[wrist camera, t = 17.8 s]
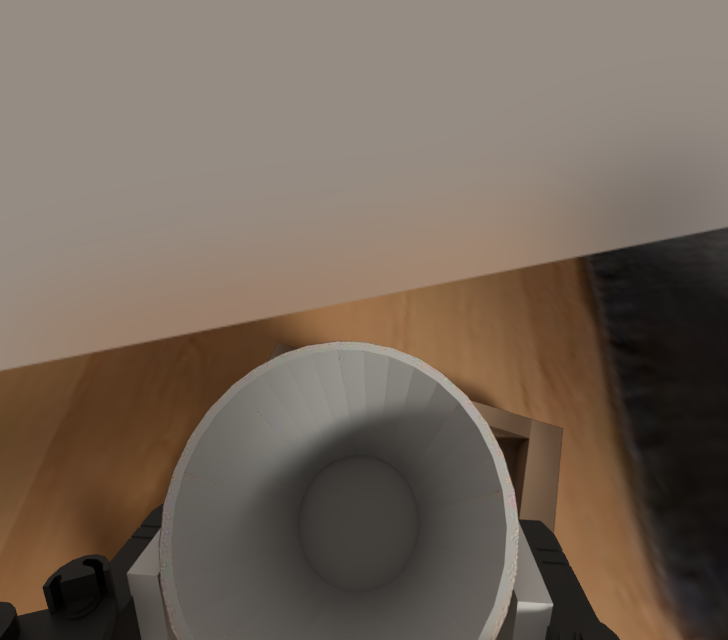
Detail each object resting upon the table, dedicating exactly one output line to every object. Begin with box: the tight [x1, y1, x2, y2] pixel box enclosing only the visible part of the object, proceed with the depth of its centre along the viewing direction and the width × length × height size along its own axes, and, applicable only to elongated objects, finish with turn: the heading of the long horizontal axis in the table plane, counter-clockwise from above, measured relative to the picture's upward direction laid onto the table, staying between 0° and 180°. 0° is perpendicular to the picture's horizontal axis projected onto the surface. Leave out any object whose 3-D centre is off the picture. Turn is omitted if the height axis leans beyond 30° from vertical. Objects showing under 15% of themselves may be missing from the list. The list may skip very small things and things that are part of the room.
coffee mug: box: [159, 341, 520, 640], centre depth 13 cm, size 12×9×10 cm
